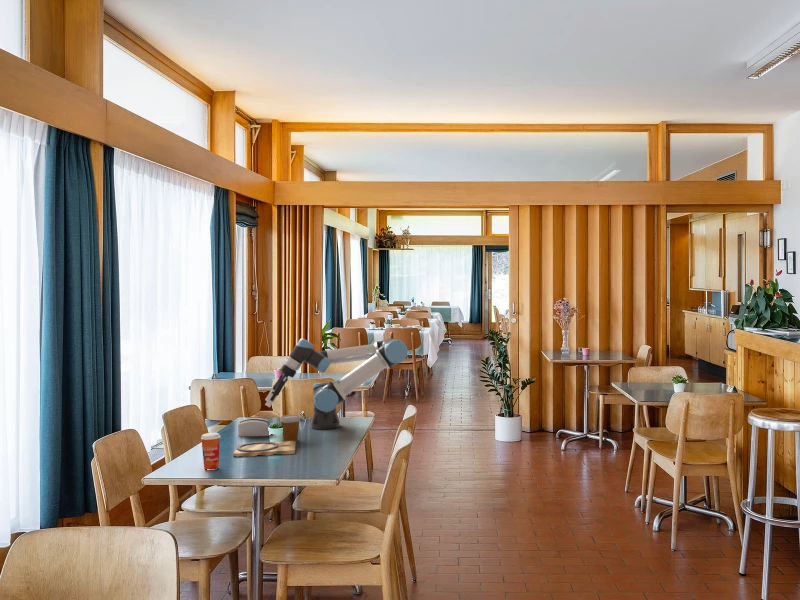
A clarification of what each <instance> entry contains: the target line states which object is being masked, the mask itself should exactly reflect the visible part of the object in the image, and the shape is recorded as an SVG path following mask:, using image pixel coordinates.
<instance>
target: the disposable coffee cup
mask: <svg viewBox="0 0 800 600" xmlns="http://www.w3.org/2000/svg"><path fill="white" fill-rule="evenodd" d="M300 420H301V418H300V415H297V414H287V415H282V416H280V419H279V422H280V426H281V425H282V426H283V433H282V439H283V441H296V443H297V442H298V439H299V429H300V428H299V427H300Z"/></svg>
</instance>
